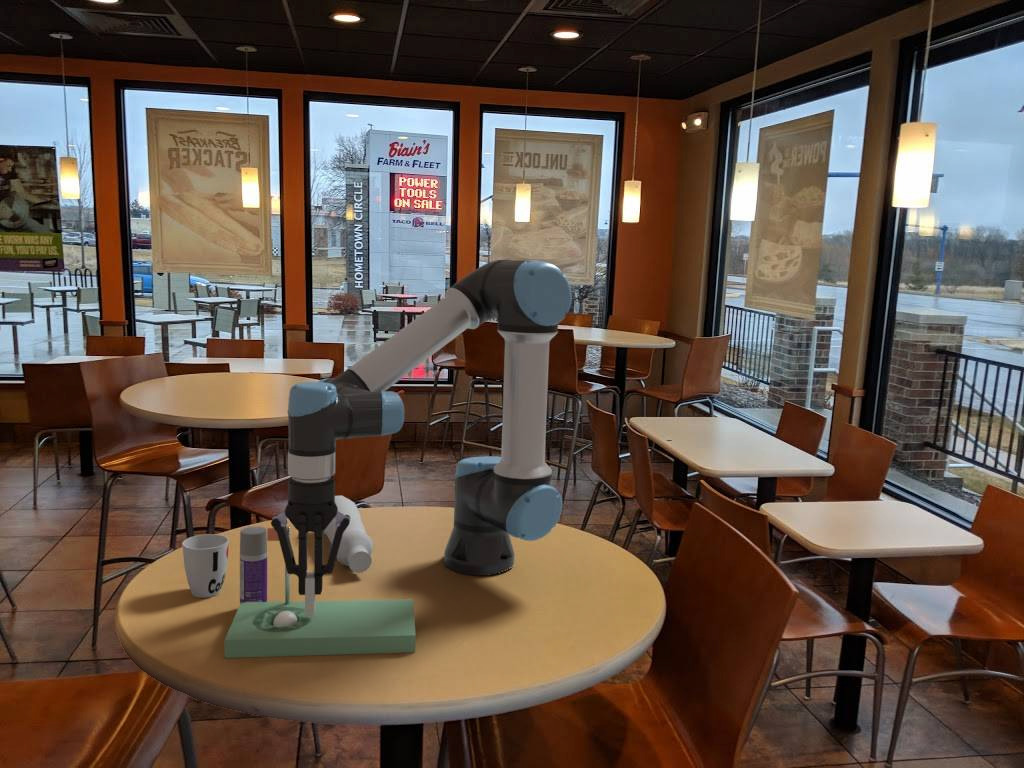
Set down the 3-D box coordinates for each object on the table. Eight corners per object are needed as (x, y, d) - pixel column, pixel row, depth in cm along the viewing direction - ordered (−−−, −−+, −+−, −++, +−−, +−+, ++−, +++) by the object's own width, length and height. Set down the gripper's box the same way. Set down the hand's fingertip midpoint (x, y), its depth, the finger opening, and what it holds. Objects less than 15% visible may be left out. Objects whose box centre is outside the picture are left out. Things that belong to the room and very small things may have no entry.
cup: (213, 603, 144) (213, 551, 143) (173, 597, 146) (173, 546, 145) (237, 586, 152) (237, 536, 151) (199, 581, 154) (198, 532, 152)
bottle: (309, 518, 184) (328, 570, 156) (331, 486, 184) (354, 532, 157) (341, 536, 187) (365, 590, 160) (363, 504, 188) (391, 553, 160)
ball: (298, 615, 137) (274, 613, 136) (300, 609, 134) (276, 606, 133) (294, 639, 135) (270, 636, 134) (297, 633, 132) (272, 630, 131)
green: (412, 614, 144) (413, 599, 143) (415, 652, 130) (415, 635, 130) (240, 618, 139) (240, 602, 139) (224, 657, 125) (224, 640, 125)
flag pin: (289, 602, 140) (290, 526, 137) (289, 604, 139) (289, 527, 137) (267, 602, 139) (267, 526, 137) (266, 604, 138) (267, 528, 136)
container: (272, 607, 144) (272, 528, 142) (256, 617, 140) (256, 536, 137) (250, 602, 146) (250, 524, 143) (234, 612, 141) (233, 532, 139)
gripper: (353, 470, 135) (350, 601, 138) (274, 470, 133) (273, 603, 136) (351, 483, 127) (348, 621, 131) (267, 482, 125) (267, 622, 129)
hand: (310, 611), depth 134 cm, fingers closed
